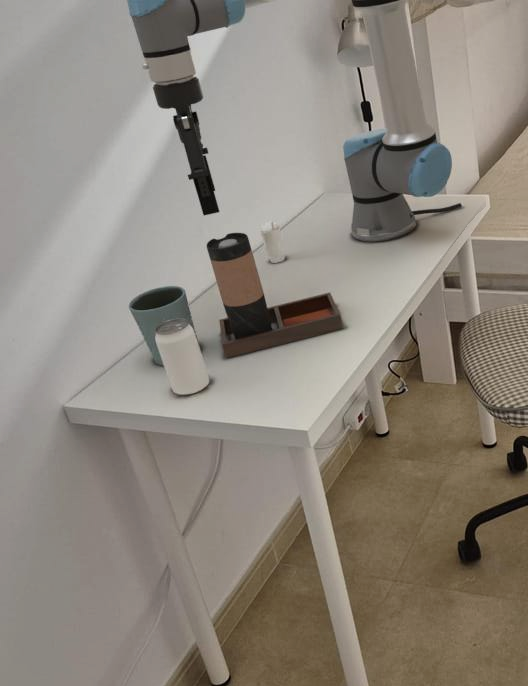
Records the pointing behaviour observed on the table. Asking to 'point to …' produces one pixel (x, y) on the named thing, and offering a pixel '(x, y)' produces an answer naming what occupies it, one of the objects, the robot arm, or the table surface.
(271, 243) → the milkshake
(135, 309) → the green tapered cup
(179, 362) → the can
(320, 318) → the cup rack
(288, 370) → the table surface
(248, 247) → the travel mug
